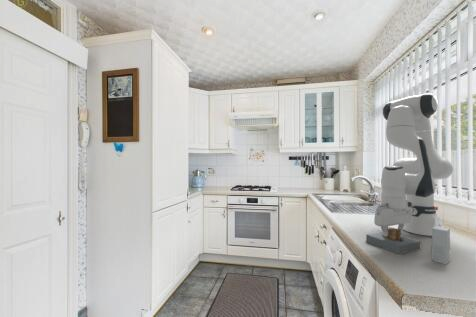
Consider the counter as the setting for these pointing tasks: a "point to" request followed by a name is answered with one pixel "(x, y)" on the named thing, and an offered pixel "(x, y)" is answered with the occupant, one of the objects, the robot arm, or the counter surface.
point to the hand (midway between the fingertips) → (392, 234)
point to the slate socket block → (393, 243)
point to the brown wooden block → (394, 234)
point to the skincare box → (441, 244)
